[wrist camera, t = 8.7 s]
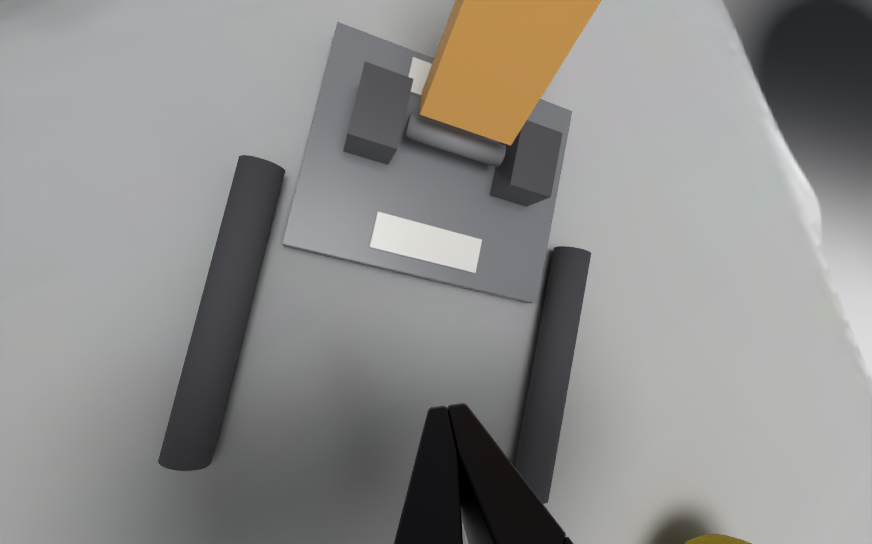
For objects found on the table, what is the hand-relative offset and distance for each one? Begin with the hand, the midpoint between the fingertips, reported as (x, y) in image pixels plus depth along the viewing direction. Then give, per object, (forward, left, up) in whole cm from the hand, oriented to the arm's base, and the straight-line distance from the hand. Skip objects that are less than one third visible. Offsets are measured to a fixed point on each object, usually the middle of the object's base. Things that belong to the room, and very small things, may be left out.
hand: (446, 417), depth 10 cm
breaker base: (+4, -9, -10) cm, 14 cm away
